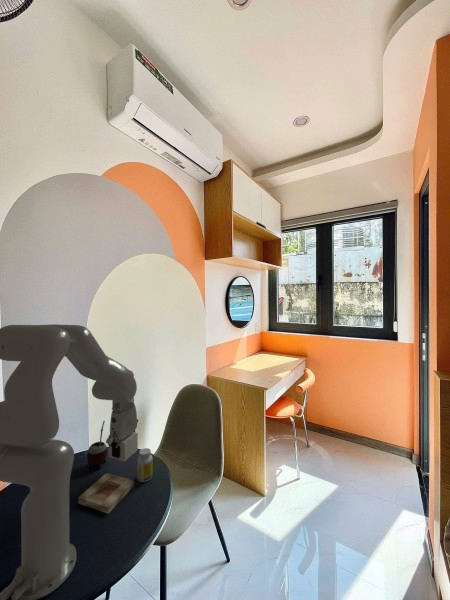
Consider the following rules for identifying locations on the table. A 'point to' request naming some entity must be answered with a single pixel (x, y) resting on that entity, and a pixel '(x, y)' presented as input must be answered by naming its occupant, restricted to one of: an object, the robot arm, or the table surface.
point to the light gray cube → (126, 446)
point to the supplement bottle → (144, 465)
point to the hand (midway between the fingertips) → (123, 450)
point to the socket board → (106, 492)
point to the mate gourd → (97, 453)
